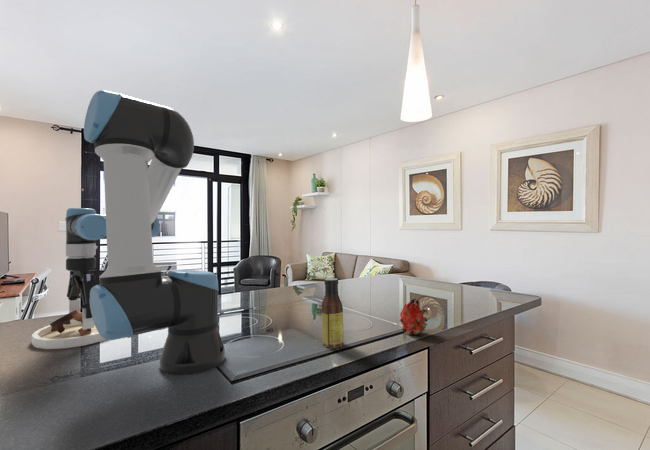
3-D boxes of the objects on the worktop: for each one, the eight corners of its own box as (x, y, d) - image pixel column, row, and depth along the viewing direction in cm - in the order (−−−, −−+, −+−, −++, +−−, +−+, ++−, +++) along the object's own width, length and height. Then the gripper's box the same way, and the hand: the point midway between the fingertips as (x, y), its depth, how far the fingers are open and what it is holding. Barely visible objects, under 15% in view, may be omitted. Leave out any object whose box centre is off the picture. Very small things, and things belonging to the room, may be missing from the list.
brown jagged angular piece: (75, 341, 93) (59, 318, 92) (54, 352, 95) (38, 329, 94) (108, 320, 104) (94, 299, 103) (89, 330, 107) (75, 310, 106)
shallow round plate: (134, 333, 101) (134, 325, 101) (43, 356, 84) (43, 346, 84) (108, 319, 115) (108, 312, 115) (25, 337, 97) (25, 328, 97)
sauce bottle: (346, 345, 93) (347, 278, 93) (338, 353, 87) (339, 281, 87) (326, 341, 95) (327, 276, 95) (317, 348, 90) (318, 279, 90)
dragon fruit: (408, 342, 95) (409, 303, 95) (394, 333, 103) (394, 296, 103) (432, 339, 98) (432, 300, 98) (416, 330, 106) (416, 294, 106)
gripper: (109, 258, 95) (109, 329, 95) (83, 253, 110) (82, 314, 110) (79, 261, 89) (78, 336, 89) (55, 255, 104) (55, 319, 104)
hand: (81, 324), depth 99 cm, fingers open, 13 cm apart
